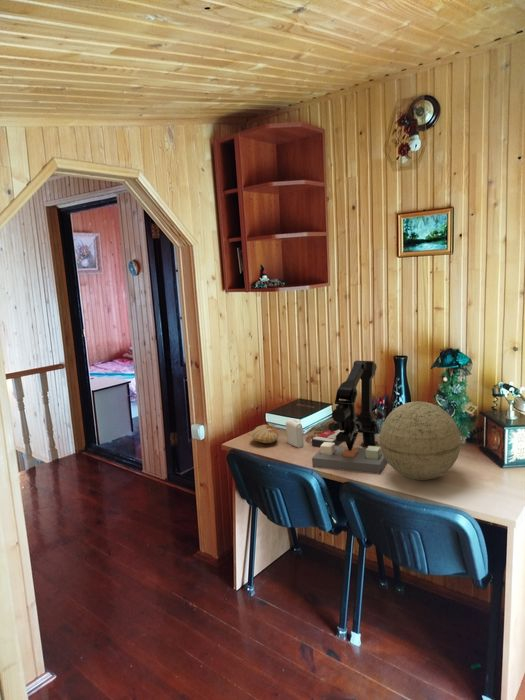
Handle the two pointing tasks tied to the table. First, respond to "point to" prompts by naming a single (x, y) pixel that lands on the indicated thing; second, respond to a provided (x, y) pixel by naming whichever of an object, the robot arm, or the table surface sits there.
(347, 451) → the terracotta button
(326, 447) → the cream button
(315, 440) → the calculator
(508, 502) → the table surface
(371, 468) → the button panel
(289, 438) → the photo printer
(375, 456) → the sage button
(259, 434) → the seashell
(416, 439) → the brown large sphere
